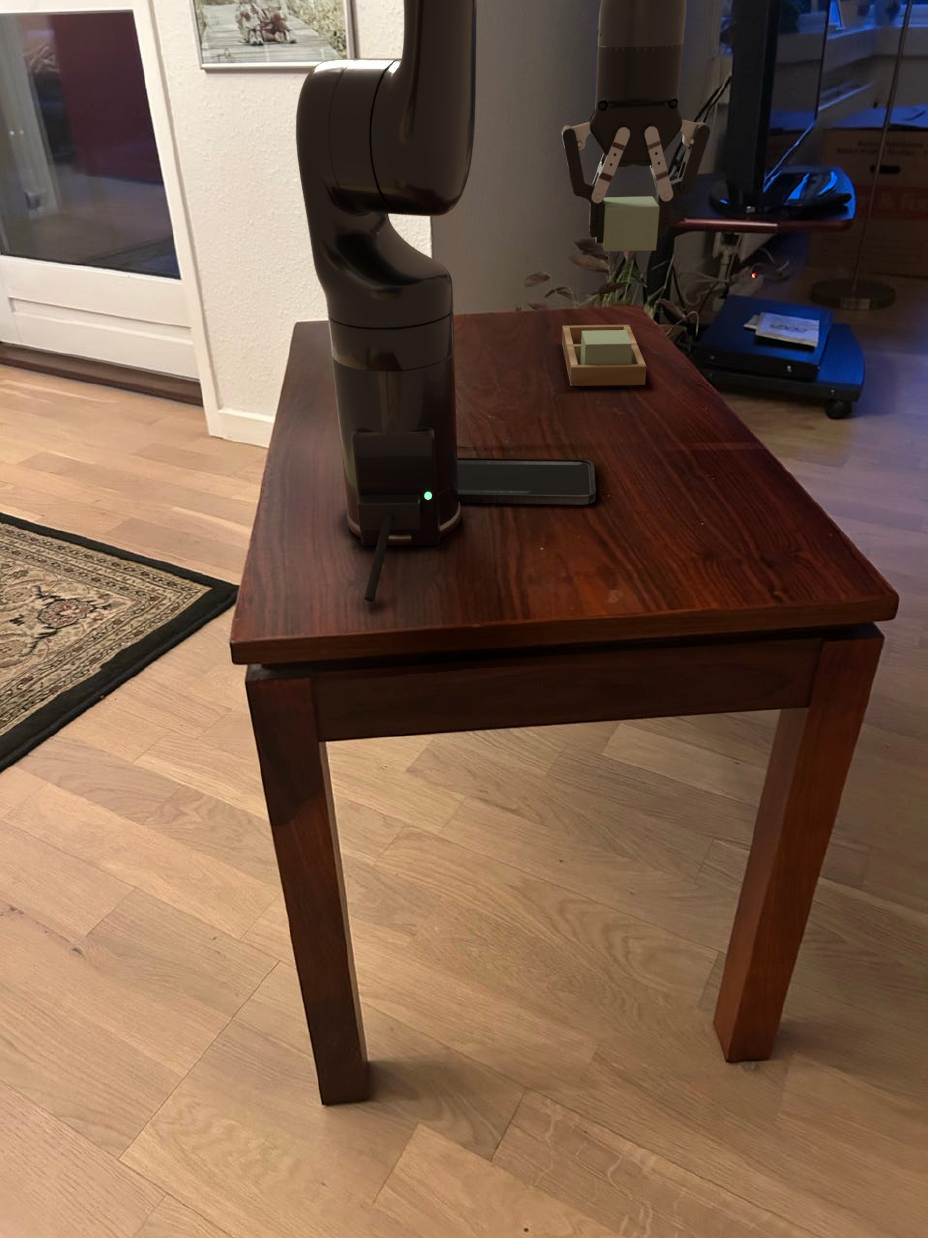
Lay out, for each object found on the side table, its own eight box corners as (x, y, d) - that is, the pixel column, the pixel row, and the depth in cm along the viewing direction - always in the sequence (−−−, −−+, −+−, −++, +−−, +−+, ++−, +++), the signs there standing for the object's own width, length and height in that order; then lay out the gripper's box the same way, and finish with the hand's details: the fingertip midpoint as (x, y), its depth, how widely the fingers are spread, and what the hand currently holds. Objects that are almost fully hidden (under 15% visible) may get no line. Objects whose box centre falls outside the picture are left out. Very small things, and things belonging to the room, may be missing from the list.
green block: (656, 250, 91) (659, 206, 89) (604, 251, 92) (606, 207, 89) (649, 238, 96) (652, 195, 93) (599, 239, 96) (601, 197, 94)
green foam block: (629, 379, 104) (631, 343, 102) (583, 380, 105) (585, 344, 102) (623, 364, 109) (626, 329, 106) (580, 365, 109) (581, 330, 107)
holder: (644, 389, 103) (646, 366, 102) (570, 390, 104) (571, 367, 102) (627, 345, 116) (629, 324, 115) (561, 346, 117) (562, 325, 115)
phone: (431, 456, 88) (593, 459, 87) (431, 468, 89) (592, 470, 87) (420, 494, 81) (596, 496, 80) (421, 505, 82) (595, 508, 81)
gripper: (561, 45, 81) (556, 252, 91) (730, 39, 80) (707, 248, 90) (557, 40, 87) (553, 234, 97) (714, 34, 87) (694, 231, 96)
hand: (627, 240), depth 93 cm, fingers closed on green block, 5 cm apart
